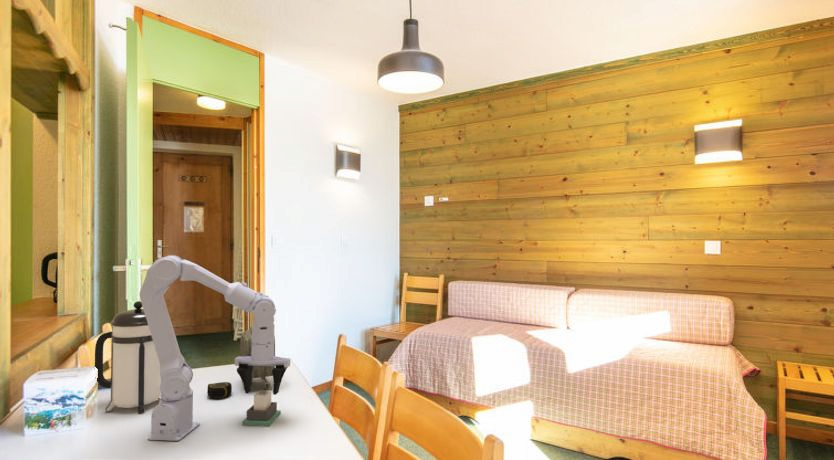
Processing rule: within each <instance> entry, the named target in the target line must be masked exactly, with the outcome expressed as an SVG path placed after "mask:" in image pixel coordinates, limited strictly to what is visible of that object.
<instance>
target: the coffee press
mask: <svg viewBox="0 0 834 460" xmlns="http://www.w3.org/2000/svg"><path fill="white" fill-rule="evenodd" d="M110 325H111V327H112V331H108V332H104V333H101V334H100V336H98V338H97V340H96V342H95V345H94V347H95V348H94V368H95V367H96V368H97V369H98V378H97V380H96V382H97V384H99V386H101V387H102V388H105V389H110V400H109V402H108V403H107V405H106V406H105V412H106V413H111V412H112V411H113V410H114V409H117V408H124V409H125V408H127V409H130V408H137V413H138V415H141V414H145V412H146V410H145V406H146V405H149V404H152V403H153V402H155V401H157V400H159V401H160V398H161V392H160V385H161V376H160V362H159V359H158V355H157V352H156V349H155V346H154V342H153V339H152V336H151V332H150V329H149V326H148V323H147V319H146V316H145V313H144V309H143V306H142V303H141V300H139V301H135V302H134V304H133V309H128V310H124V311H120V312H119V313H117V314H116V315H115V316H114V317H113V319H112V320H111V322H110ZM108 339H111V347H110V349H111V352H110V353H111V354H110V355H111V356H110V359H111V360H110V361H111V362H110V380H107V379H106V378H105V376H104V345H105V342H106V341H107V340H108ZM111 404H113V406H112V407H111V408H110V409H109V410H108V408H109V407H110V406H111Z"/></svg>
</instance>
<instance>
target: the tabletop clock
mask: <svg viewBox="0 0 834 460" xmlns="http://www.w3.org/2000/svg"><path fill="white" fill-rule="evenodd" d="M275 337H276V336H275V335H274V356H276V339H275ZM239 343H240V346H239V350H240V351H239V352H240V353H239V357H245V356H251V353H252V325H251V327H250V329H246V330H245V331H243V332H241V333H240V342H239ZM275 367H276V366H253V370H252V378H251V383H252V386H253V385H254V383H253V379H261V380H262V381H263V382H264V384H265V387H264V388H265V390H269V389H271V387H272V386H271V384H270V383H268V381H267V379H266V377H273V374H272V369H274V368H275Z"/></svg>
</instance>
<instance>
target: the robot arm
mask: <svg viewBox="0 0 834 460" xmlns="http://www.w3.org/2000/svg"><path fill="white" fill-rule="evenodd" d="M145 274H146V275H145V278H144V280H143V283H142V285H141V288H140V290H139V301H140V302H141V303H142V309H144V313H145V316H146V319H147V323H148V326H149V329H150V332H151V336H152V339H153V342H154V346H155V349H156V352H157V355H158V359H159V362H160V376H161V385H160V392H161V395H160V397H159V398H160V400H159V401H158V402H159V403H158V404H157V405H156V406H155V407H154V409H153V410H152V413H151V419H150V420H151V421H150V423H151V425H150V426H151V427H150V431H151V432H150V434H151V435H149V436H148V437H147V440H149V441H151V440H152V441H173V442H179V441H181V440H182V439H183V438H184V437H185V436H188V434H190V433H191V432H193V430H195V429H196V428H197V427H199V426H200V425H201V422H195V421H193V416H194V415H193V414H194V413H193V410H194V409H193V407H194V405H193V404H194V395H193V394H194V390H193V389H192V388H191V386H190V383H191V382H192V380H193V377H194V372H193V370H192V368H191V367H190V366H189V365H188V364H187V362H186V360H185V357H184V356H183V355H182V353H181V350H180V347H179V344H178V340H177V336H176V333H175V330H174V327H173V323H172V320H171V317H170V313H169V310H168V307H167V303H166V300H165V297H164V295H165V294H166V292H167V291H168V289H169V288H170V287H171V284H173V283H174V282H175V281H176V280H178V279H179V278H180V281H182V282H185V281H186V282H187V281H194V282H198V283H199V284H202V285H203V286H206V287H208V288H210V289H212V290H214V291H216V292H218V293H220V294H222V295H223V296H224V301H225V302H227V303H228V304H231V305H232V306H235V307H236V308H238V309H240V310H242V311H244V312H246V313H252V317H253V319H252V320H253V321H252V322H253V323H252V325H251V326H252V353H251V356H245V357H240V356H236V357H235V358H234V366H236V367H237V368H236V372H237V374H238V375H239V377H240V379H241V381H242V384H243V388H244V394H249V393H251V392H252V386H253V385H252V383H251V378H252V370H253V366H275V368H274V369H272V374H273V376H272V382H273V384H272V385H273V386H272V387H273V388H272V393H273V395H274V396H275V395H277V394H279V391H280V386H281V383H282V380H283V378H284V376H285V373H286V371H287V369H288V368H289V367H290V366H291V358H290V357H289V358H288V357H281V356H276V355H275V356H274V336H275V324H274V322H275V314H276V313H277V309H276V306H275V303H274V300H273V299H271V297H269V296H268V295H265V294H264V293H263V292H262V291H259V292H258V291H256V290H254V289H252V288H250V287H249V286H248V284H247V283H246V282H245V281H243V282H239V281H237V282H232V283H230V282H228V281H226V280H225V279H223V278H222V277H219V276H218V275H216V274H214V273H213V272H211V271H209V270H208V269H206V268H204V267H202V266H200V265H199V264H197V263H195V262H192V261H190V260H187V259H183V258H181V257H180V256H178V255H175V254H169V255H165V256H163V257H160V258H158V259H156V260H155V261H154V262H153V263H152V264H151V266H150V267H148V269H146V273H145Z"/></svg>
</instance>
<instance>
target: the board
mask: <svg viewBox="0 0 834 460" xmlns="http://www.w3.org/2000/svg"><path fill="white" fill-rule="evenodd" d="M277 407H278V402H277V401H276V402H275V401H271V406H270V407H269V408H268V409H267V410H266V411H263V410H254V404H253V405H252V406H250V407H249V408H248V409H247V410H246V417H245V418H244V419H243V420H242V423H241V424H242V425H241V426H245V427H246V426H248V427H271V425H272V424H273V423H274V422H275V421H276V419H277V418H279V416H280V415H281V412H282V410H280V409H278V408H277Z"/></svg>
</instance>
